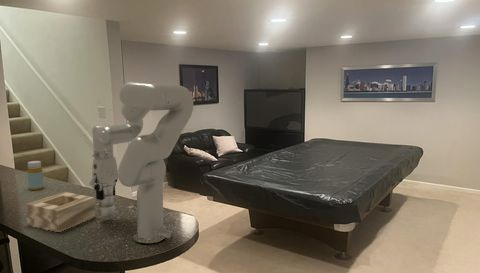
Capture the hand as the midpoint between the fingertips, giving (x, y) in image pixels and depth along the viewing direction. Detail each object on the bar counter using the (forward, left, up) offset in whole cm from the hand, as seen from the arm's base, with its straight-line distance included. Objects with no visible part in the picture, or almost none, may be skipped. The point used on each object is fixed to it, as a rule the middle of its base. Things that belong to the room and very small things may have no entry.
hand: (106, 196), depth 142 cm
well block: (+17, +8, -11) cm, 21 cm away
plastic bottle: (0, 0, -9) cm, 9 cm away
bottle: (+68, -18, -11) cm, 71 cm away
